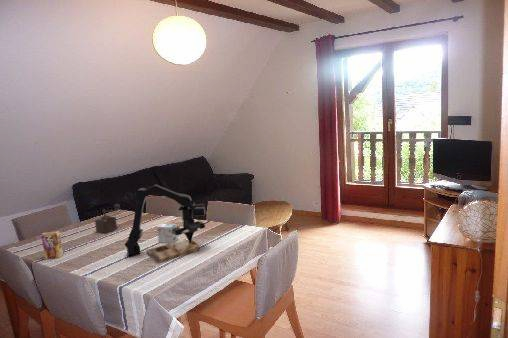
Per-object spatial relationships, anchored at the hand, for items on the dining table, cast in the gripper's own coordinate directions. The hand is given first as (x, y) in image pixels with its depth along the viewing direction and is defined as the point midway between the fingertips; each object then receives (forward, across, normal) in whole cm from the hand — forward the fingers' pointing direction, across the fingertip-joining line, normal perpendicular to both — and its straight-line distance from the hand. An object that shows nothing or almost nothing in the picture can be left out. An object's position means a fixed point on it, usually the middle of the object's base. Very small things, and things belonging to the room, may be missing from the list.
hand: (190, 241), depth 211 cm
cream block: (+3, -5, 0) cm, 6 cm away
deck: (+5, -10, +4) cm, 11 cm away
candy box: (+5, -67, +48) cm, 83 cm away
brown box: (+5, -28, +78) cm, 82 cm away
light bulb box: (+5, -5, +23) cm, 24 cm away
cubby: (+3, -3, 0) cm, 4 cm away
